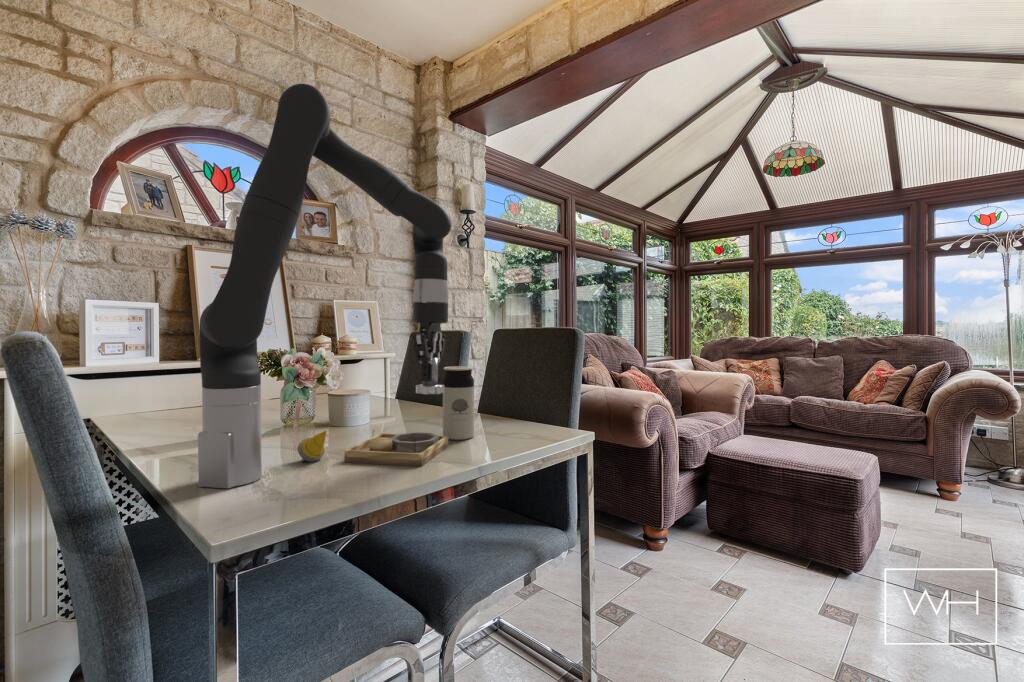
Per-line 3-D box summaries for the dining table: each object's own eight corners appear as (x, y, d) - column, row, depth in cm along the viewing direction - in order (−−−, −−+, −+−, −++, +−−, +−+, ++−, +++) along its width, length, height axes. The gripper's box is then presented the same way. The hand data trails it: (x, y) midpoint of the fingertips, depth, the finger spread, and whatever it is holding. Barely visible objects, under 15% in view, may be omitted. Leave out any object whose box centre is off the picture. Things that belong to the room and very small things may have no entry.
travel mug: (445, 433, 127) (445, 366, 127) (475, 433, 127) (475, 366, 127) (440, 440, 119) (440, 368, 119) (471, 440, 119) (471, 368, 119)
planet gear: (437, 394, 101) (438, 358, 101) (411, 393, 102) (412, 358, 102) (447, 391, 107) (447, 357, 107) (422, 390, 108) (423, 357, 108)
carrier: (422, 466, 97) (422, 448, 97) (344, 462, 100) (344, 444, 100) (448, 446, 113) (448, 431, 113) (381, 443, 116) (381, 428, 116)
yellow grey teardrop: (320, 457, 105) (342, 430, 101) (309, 474, 100) (331, 446, 96) (299, 444, 104) (320, 415, 100) (286, 460, 99) (308, 431, 95)
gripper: (426, 303, 112) (426, 377, 112) (400, 298, 98) (399, 382, 99) (457, 303, 111) (456, 378, 111) (435, 298, 97) (434, 384, 97)
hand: (429, 379), depth 105 cm, fingers closed on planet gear, 3 cm apart
